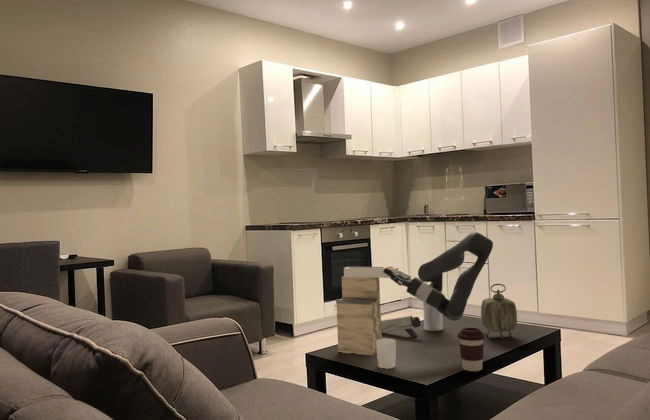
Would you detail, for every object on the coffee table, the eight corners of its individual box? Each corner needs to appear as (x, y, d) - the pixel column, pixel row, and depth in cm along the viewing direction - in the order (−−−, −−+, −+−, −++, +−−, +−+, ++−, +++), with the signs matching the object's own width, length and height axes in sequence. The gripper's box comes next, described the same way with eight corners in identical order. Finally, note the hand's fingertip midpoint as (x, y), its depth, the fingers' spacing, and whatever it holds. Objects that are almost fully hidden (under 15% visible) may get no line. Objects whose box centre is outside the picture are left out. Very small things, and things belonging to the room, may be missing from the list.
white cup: (373, 365, 211) (372, 340, 211) (390, 362, 214) (389, 337, 214) (382, 370, 204) (381, 344, 203) (400, 367, 207) (399, 341, 207)
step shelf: (348, 345, 242) (345, 275, 242) (381, 348, 236) (379, 276, 235) (338, 352, 231) (335, 279, 231) (372, 355, 224) (370, 280, 224)
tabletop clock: (512, 334, 250) (510, 281, 250) (519, 339, 241) (517, 284, 241) (481, 335, 251) (479, 283, 250) (487, 340, 241) (485, 285, 241)
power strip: (347, 275, 241) (346, 265, 241) (398, 276, 231) (398, 266, 231) (344, 276, 237) (343, 266, 237) (395, 277, 228) (395, 267, 228)
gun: (422, 336, 249) (417, 315, 250) (378, 342, 264) (373, 322, 265) (424, 335, 251) (419, 314, 252) (380, 341, 266) (376, 321, 267)
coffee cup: (456, 365, 206) (455, 326, 206) (482, 364, 206) (480, 326, 206) (462, 373, 196) (460, 332, 196) (489, 372, 196) (487, 332, 196)
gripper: (428, 279, 231) (394, 260, 237) (420, 284, 218) (384, 263, 224) (420, 294, 233) (386, 274, 239) (411, 300, 220) (376, 278, 226)
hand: (386, 269), depth 232 cm, fingers closed on power strip, 4 cm apart
